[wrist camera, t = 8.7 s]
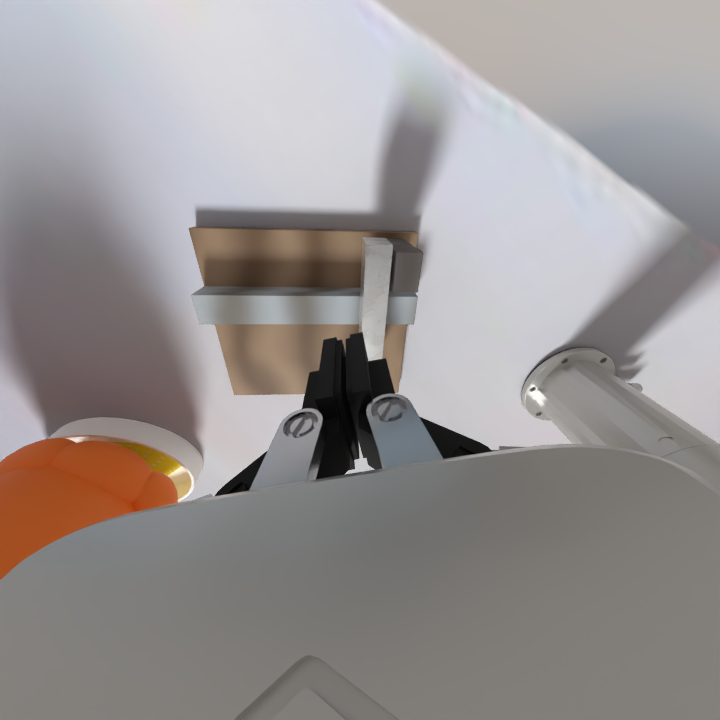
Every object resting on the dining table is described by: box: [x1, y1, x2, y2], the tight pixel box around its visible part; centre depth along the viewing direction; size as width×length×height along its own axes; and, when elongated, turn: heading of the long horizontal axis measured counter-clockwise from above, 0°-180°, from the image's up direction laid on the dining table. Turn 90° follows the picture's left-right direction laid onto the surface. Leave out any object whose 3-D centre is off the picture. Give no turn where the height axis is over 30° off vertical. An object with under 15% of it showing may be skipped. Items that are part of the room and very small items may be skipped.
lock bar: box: [359, 237, 393, 361], centre depth 26 cm, size 16×4×5 cm, turn 178°
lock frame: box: [189, 227, 423, 395], centre depth 29 cm, size 22×20×10 cm
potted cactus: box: [0, 417, 204, 580], centre depth 27 cm, size 22×22×35 cm
